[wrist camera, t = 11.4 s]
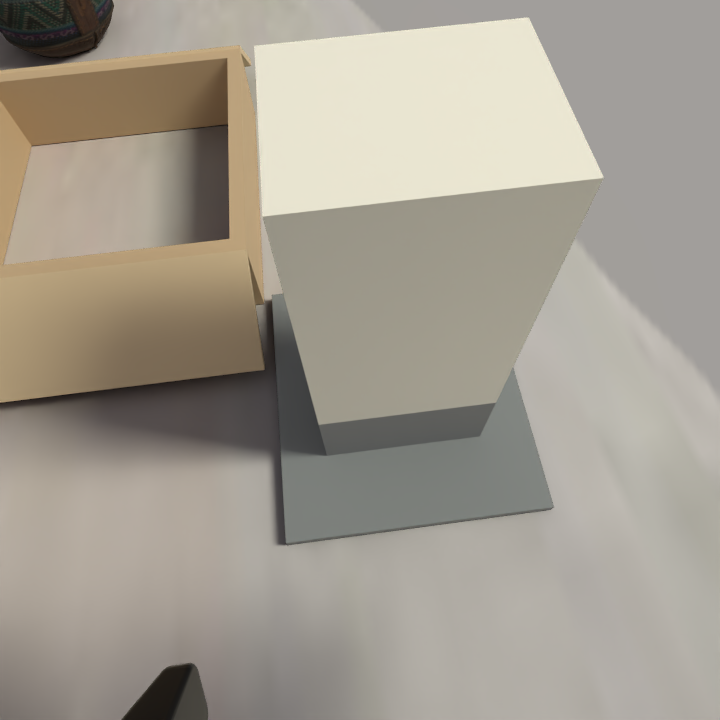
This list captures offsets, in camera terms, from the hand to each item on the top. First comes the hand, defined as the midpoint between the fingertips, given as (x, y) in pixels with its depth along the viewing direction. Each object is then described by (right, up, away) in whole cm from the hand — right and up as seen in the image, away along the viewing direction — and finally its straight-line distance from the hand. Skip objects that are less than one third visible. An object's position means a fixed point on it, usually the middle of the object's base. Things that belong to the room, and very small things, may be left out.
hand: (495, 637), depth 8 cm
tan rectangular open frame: (-13, +11, +17) cm, 24 cm away
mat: (-1, +3, +12) cm, 13 cm away
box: (-1, +3, +12) cm, 13 cm away
